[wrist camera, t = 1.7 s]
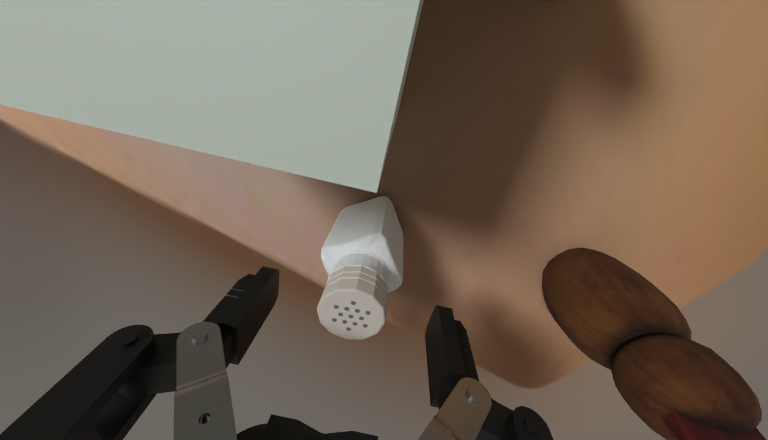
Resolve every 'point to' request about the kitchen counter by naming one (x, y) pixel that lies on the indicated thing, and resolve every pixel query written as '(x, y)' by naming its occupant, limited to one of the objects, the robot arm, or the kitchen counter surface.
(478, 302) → the kitchen counter surface
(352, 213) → the salt shaker
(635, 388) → the wooden figurine
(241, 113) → the tissue box
